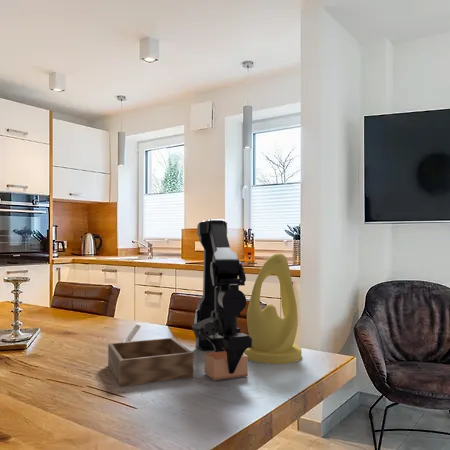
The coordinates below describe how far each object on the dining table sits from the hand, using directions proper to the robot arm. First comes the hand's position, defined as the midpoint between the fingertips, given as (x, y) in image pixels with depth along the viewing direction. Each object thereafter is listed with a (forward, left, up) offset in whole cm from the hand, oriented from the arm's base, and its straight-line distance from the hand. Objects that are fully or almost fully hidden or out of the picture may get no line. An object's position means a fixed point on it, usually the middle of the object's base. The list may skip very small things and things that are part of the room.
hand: (225, 369), depth 114 cm
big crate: (+17, -11, -2) cm, 20 cm away
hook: (+19, -28, -2) cm, 34 cm away
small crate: (0, 0, -1) cm, 1 cm away
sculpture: (-20, -12, -2) cm, 23 cm away
